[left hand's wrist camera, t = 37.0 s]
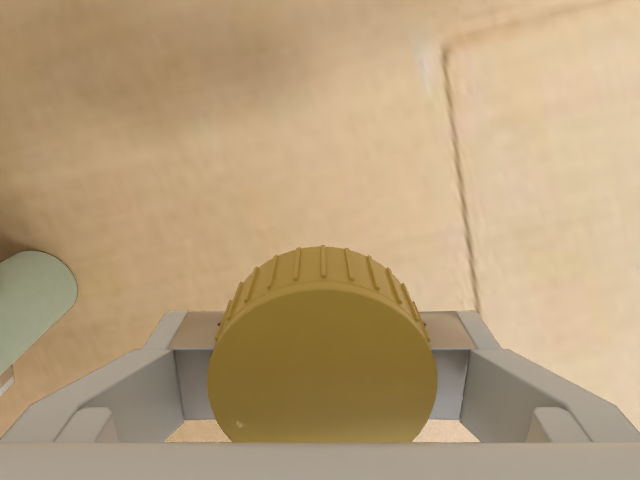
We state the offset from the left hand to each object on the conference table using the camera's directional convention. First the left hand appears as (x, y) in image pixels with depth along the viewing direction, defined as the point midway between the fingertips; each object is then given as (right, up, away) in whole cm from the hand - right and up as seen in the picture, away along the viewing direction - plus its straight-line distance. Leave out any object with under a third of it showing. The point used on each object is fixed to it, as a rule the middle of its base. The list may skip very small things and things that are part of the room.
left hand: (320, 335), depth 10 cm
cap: (0, -1, -2) cm, 2 cm away
